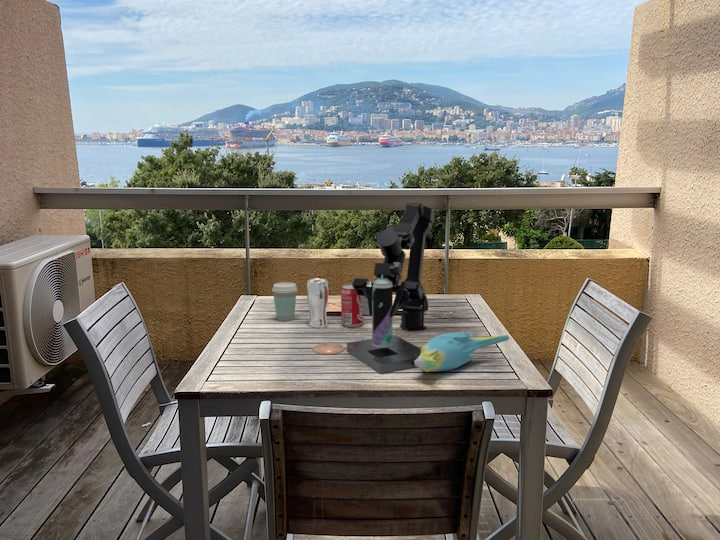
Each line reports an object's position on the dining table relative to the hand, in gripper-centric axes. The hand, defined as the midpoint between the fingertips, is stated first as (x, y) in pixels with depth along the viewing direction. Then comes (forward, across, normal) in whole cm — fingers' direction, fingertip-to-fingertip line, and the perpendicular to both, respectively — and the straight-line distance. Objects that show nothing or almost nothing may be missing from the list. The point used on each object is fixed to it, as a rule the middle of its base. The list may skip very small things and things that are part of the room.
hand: (380, 315), depth 164 cm
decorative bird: (+10, +22, +9) cm, 26 cm away
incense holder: (-23, -18, +42) cm, 51 cm away
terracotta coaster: (+5, -18, +13) cm, 23 cm away
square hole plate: (+6, +1, +13) cm, 14 cm away
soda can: (-12, -20, +32) cm, 39 cm away
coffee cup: (-12, -44, +31) cm, 55 cm away
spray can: (+5, 0, +7) cm, 9 cm away
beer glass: (-10, -30, +29) cm, 43 cm away
